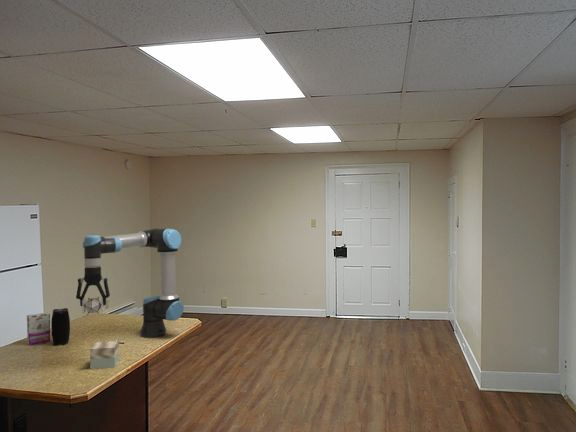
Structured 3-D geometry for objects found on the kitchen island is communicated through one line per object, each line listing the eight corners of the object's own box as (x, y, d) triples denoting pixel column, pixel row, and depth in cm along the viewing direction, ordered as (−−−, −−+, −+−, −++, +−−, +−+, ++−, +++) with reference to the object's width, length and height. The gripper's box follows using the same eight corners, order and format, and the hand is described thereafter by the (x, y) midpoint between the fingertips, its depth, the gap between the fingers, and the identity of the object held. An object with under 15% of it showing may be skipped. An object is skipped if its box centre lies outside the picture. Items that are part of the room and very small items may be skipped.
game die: (95, 321, 221) (91, 307, 216) (81, 315, 224) (77, 301, 218) (107, 309, 228) (105, 295, 222) (94, 303, 231) (91, 289, 225)
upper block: (118, 350, 227) (118, 340, 227) (114, 357, 216) (114, 347, 216) (95, 352, 225) (95, 342, 225) (90, 359, 214) (89, 349, 214)
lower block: (118, 360, 227) (118, 350, 227) (114, 368, 217) (114, 357, 217) (95, 362, 225) (95, 352, 225) (90, 369, 214) (90, 359, 214)
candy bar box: (48, 339, 263) (48, 312, 262) (50, 341, 259) (50, 313, 259) (26, 343, 256) (26, 315, 255) (28, 345, 252) (28, 316, 251)
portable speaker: (48, 344, 254) (48, 310, 253) (64, 340, 261) (64, 307, 261) (57, 347, 249) (56, 312, 249) (73, 342, 257) (72, 308, 256)
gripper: (116, 265, 228) (116, 309, 229) (72, 266, 224) (73, 311, 225) (113, 266, 221) (113, 312, 221) (68, 268, 217) (68, 315, 217)
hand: (93, 312), depth 223 cm, fingers closed on game die, 8 cm apart
